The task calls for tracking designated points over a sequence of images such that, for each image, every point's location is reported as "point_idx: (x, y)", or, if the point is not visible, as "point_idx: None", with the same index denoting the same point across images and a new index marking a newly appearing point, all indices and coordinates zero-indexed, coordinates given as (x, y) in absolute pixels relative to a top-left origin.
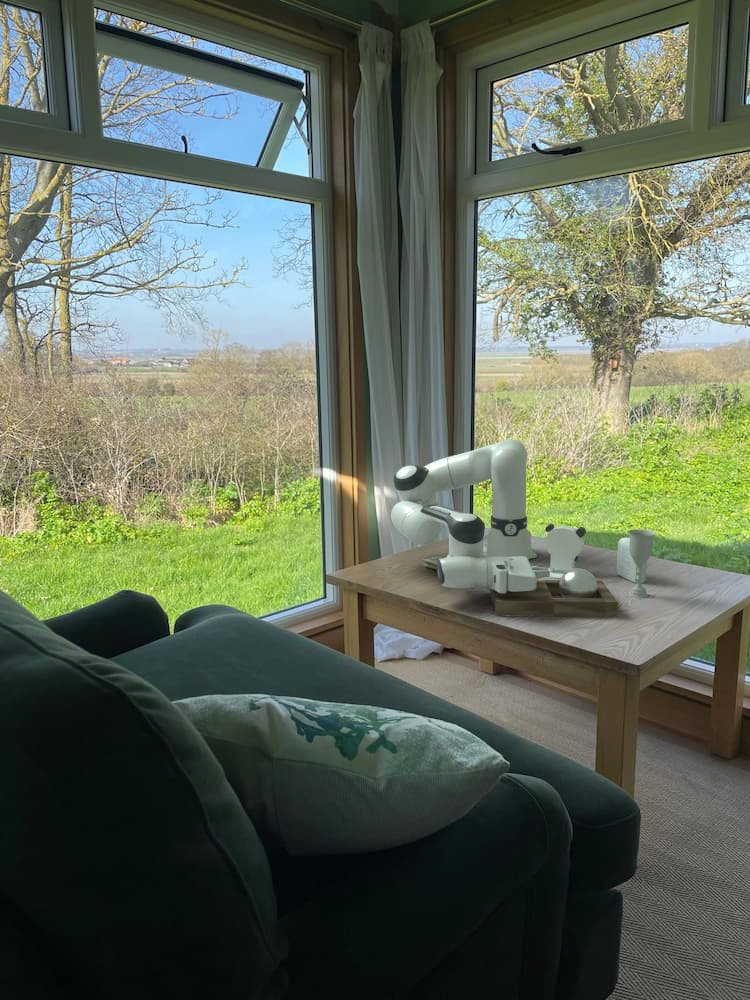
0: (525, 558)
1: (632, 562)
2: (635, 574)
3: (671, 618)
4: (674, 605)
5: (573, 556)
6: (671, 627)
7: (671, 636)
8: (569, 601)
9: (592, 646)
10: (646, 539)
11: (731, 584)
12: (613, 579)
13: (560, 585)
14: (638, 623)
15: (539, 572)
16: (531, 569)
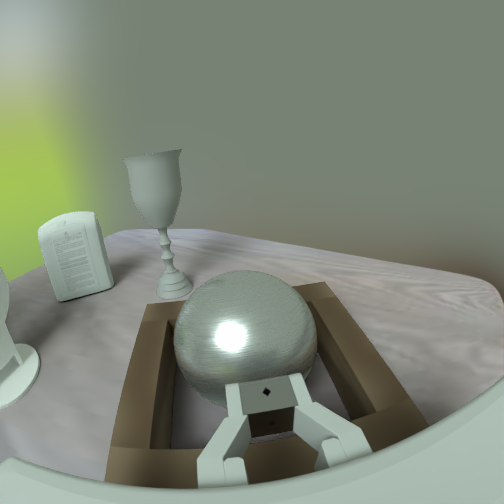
0: (41, 480)
1: (92, 254)
2: (106, 272)
3: (298, 263)
4: (231, 261)
5: (3, 316)
6: (340, 263)
7: (378, 263)
8: (384, 361)
9: (495, 323)
10: (178, 159)
11: (149, 232)
12: (78, 309)
13: None
14: (346, 289)
15: (341, 423)
16: (403, 450)
